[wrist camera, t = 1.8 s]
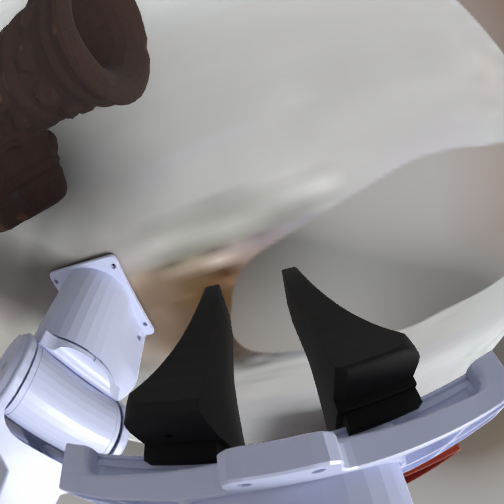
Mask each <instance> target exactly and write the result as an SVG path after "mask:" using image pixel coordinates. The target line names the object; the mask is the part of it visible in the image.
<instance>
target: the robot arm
mask: <svg viewBox="0 0 504 504" xmlns="http://www.w3.org/2000/svg"><path fill="white" fill-rule="evenodd" d="M112 264H115V265H116V266H113V265H112ZM282 274H283V281H284V287H285V292H286V299H287V304H288V308H289V311H290V315H291V318H292V322H293V324H294V326H295V329H296V331H297V334H298V336H299V339H300V341H301V344H302V346H303V348H304V351H305V353H306V356H307V358H308V361H309V364H310V367H311V370H312V374H313V377H314V381H315V384H316V388H317V391H318V395H319V399H320V403H321V406H322V410H323V414H324V418H325V422H326V426H327V430H328V431H316V432H310V433H305V434H301V435H296V436H292V437H288V438H283V439H278V440H273V441H268V442H262V443H256V444H250V445H245V443H244V438H243V433H242V428H241V422H240V417H239V411H238V405H237V398H236V391H235V384H234V368H233V334H232V326H231V320H230V315H229V312H228V309H227V306H226V303H225V300H224V298H223V295H222V292H221V289H220V286H219V285H214V286H210V287H206V288H205V290H204V292H203V295H202V297H201V300H200V302H199V304H198V307H197V309H196V311H195V313H194V315H193V317H192V319H191V321H190V323H189V325H188V327H187V329H186V330H185V332H184V334H183V336H182V337H181V339H180V340H179V342H178V343H177V345H176V346H175V348H174V349H173V351H172V352H171V353H170V355H169V356H168V357H167V358H166V359H165V361H164V362H163V363H162V364H161V365H160V367H159V368H158V369H157V370H156V371H155V372H154V373H153V374H152V375H151V376H150V377H149V378H148V379H147V380H145V381H144V382H143V383H142V384H141V385H140V386H138V387H137V388H136V389H135V390H134V391H132V392H131V393H130V391H131V390H132V389H133V387H134V386H135V384H136V381H137V378H138V373H139V368H140V362H141V357H142V351H143V346H144V341H145V336H146V335H149V334H153V333H154V328H153V326H152V324H151V322H150V321H149V319H148V317H147V315H146V314H145V312H144V310H143V308H142V306H141V305H140V303H139V301H138V299H137V297H136V295H135V293H134V292H133V290H132V288H131V286H130V284H129V282H128V280H127V278H126V276H125V274H124V272H123V270H122V268H121V266H120V264H119V262H118V260H117V258H116V256H114V255H112V254H110V255H106V256H103V257H99V258H95V259H92V260H88V261H85V262H81V263H78V264H75V265H71V266H68V267H64V268H61V269H58V270H54V271H52V272H51V273H50V278H51V280H52V282H53V283H54V285H55V287H56V288H57V290H58V294H57V296H56V297H55V299H54V301H53V302H52V304H51V306H50V308H49V309H48V311H47V313H46V315H45V317H44V319H43V320H42V322H41V324H40V326H39V328H38V330H37V332H36V334H35V336H33V335H32V334H31V333H28V334H25V335H19V336H17V337H16V338H15V339H14V340H13V342H12V343H11V344H10V345H9V347H8V348H7V349H6V351H5V352H4V354H3V355H2V357H1V359H0V504H56V503H57V500H58V498H59V496H60V495H62V494H66V493H70V494H72V495H74V496H77V497H79V498H82V499H84V500H86V501H89V502H92V503H95V504H413V500H412V498H411V495H410V492H409V489H408V486H407V484H406V481H405V478H404V475H403V473H405V472H407V471H409V470H411V469H413V468H415V467H417V466H419V465H421V464H423V463H425V462H426V461H428V460H430V459H432V458H434V457H435V456H437V455H439V454H440V453H442V452H444V451H445V450H447V449H449V448H450V447H452V446H453V445H455V444H457V443H458V442H459V441H461V440H463V439H464V438H466V437H467V436H468V435H470V434H472V433H473V432H474V431H476V430H477V429H479V428H480V427H482V426H483V425H484V424H486V423H487V422H489V421H490V420H491V419H493V418H494V417H495V416H496V415H497V414H498V413H499V412H500V411H501V409H503V407H504V367H503V365H502V364H501V363H500V361H499V360H498V358H497V357H496V355H495V354H494V353H493V351H490V352H488V353H486V354H485V355H483V356H482V357H480V358H478V359H477V360H475V361H474V362H473V363H472V364H471V365H470V366H469V368H468V369H467V372H466V374H464V375H463V376H461V377H459V378H457V379H456V380H454V381H452V382H450V383H448V384H446V385H444V386H443V387H441V388H439V389H437V390H435V391H433V392H431V393H429V394H427V395H425V396H423V397H420V395H419V393H418V392H417V390H416V388H415V386H416V385H417V383H416V381H415V379H414V377H413V375H414V373H415V370H416V368H417V365H418V363H419V358H420V356H419V352H418V351H417V349H416V348H415V346H414V345H413V343H412V342H411V341H410V339H409V338H408V337H407V336H406V335H405V334H403V333H400V332H396V331H393V330H389V329H386V328H383V327H380V326H378V325H375V324H373V323H370V322H368V321H366V320H364V319H362V318H360V317H358V316H356V315H354V314H352V313H350V312H349V311H347V310H345V309H344V308H342V307H340V306H339V305H338V304H336V303H335V302H334V301H332V300H331V299H329V298H328V297H327V296H326V295H324V294H323V293H322V292H321V291H320V290H319V289H317V288H316V287H315V286H314V285H313V284H312V283H311V282H310V281H309V280H307V278H306V277H305V276H304V275H303V274H302V273H301V272H300V271H299V270H298V269H297V268H296V267H292V268H288V269H284V270H282ZM56 280H57V281H56ZM144 322H145V323H144ZM129 393H130V394H129ZM128 394H129V397H128V400H127V405H126V407H125V406H124V405H123V404H122V403H121V402H119V400H121V399H123V398H124V397H126V396H127V395H128ZM129 432H130V433H131V434H132V435H133V436H135V437H136V438H137V439H139V440H140V441H141V442H143V443H144V444H145V450H144V456H128V455H121V453H122V452H123V450H124V448H125V446H126V444H127V441H128V437H129Z"/></svg>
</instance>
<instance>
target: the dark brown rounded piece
mask: <svg viewBox="0 0 504 504" xmlns="http://www.w3.org/2000/svg"><path fill="white" fill-rule="evenodd" d="M149 73H150V58H149V54H148V51H147V37H146V33H145V29H144V25H143V21H142V17H141V14H140V11H139V9H138V6H137V4H136V2H135V0H28V2H27V5H26V7H25V8H24V9H23V10H21V11H20V12H19V13H17V15H16V16H15V17H14V18H13V19H12V20H11V22H10V23H9V24H8V25H7V26H6V27H4V28H3V29H2V31H1V32H0V232H4V231H7V230H10V229H12V228H14V227H16V226H17V225H19V224H20V223H22V222H24V221H26V220H28V219H30V218H32V217H34V216H35V215H37V214H39V213H41V212H42V211H44V210H46V209H48V208H49V207H51V206H53V205H54V204H56V203H57V202H59V201H60V200H61V199H62V198H63V197H64V196H65V195H66V192H67V183H66V180H65V178H64V175H63V170H62V168H61V167H60V166H59V159H60V157H59V156H58V154H57V150H58V144H57V139H56V136H55V135H54V134H53V133H52V132H50V131H49V130H47V129H48V128H50V127H52V126H53V125H55V124H57V123H58V122H59V121H61V120H63V119H65V118H72V119H73V118H74V117H75V116H77V115H78V114H79V113H81V114H84V113H87V112H89V111H92V110H93V109H94V107H95V106H99V107H109V106H113V105H128V104H130V103H133V102H135V101H136V100H137V99H138V98H140V97H141V96H142V94H143V92H144V91H145V88H146V85H147V82H148V79H149Z"/></svg>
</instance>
